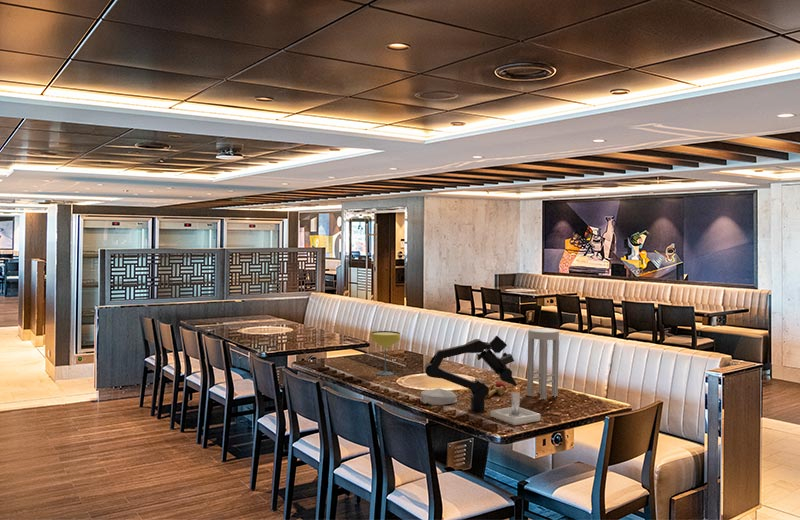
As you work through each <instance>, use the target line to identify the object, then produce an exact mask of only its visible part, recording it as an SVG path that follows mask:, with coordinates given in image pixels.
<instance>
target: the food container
mask: <svg viewBox="0 0 800 520" xmlns="http://www.w3.org/2000/svg"><path fill="white" fill-rule="evenodd" d="M457 398H458V396H457V394H456V393H455V392H453V391H450V390H447V389H443V388H441V387H439V388H433V389H425V390H422V391H420V399H419V401H420V402H422V403H423V404H429V405H432V406H433V405H434V406H443V405H450V404H451V405H452V404H455V403H458V399H457Z"/></svg>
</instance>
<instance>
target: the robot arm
mask: <svg viewBox="0 0 800 520" xmlns="http://www.w3.org/2000/svg"><path fill="white" fill-rule="evenodd" d="M506 347H508V344H506V341H504V340H502V339H501V337H500V336H499V335H495V336H494V337H493V339H492V340H490V342H485V341H482V340H481V339H479V338H475V339H473V340H472V339H471V341H468V342H466V343H465V344H464V343H463V344H460V345H456V346H453V347H448V348H444V349H438V350H437V351H435V354H434V355H433V356H432V358H431V359H430V361H429V362H427V363H426V364H425V366H424V367H423V368H424V369H423V370H424V371H425V372H424V373H425V374H426V376H427V377H429V378H433V379H443V380H445V381H448V382H451V383H453V384H454V385H458V386H461V387H464V388H466V389H468V390H470V392H469V393H470V396H471V397H470V408H468V411H469V412H472V413H475V414H480V413H486V412H487V410H486V409H485V398H486V397H485V396H486V395H488V393H489V391H490V387H488V385H487V384H486V382H485V381H484V380H480V379H478V378H476V377H475V378H474V380H470V379H468V378H465V377H462V376H460V375H458V374H454V373H452V372H450V371H448V370H445V369H443V368H441V367H440V365H441V363H442V361H443V360H444V359H446V358H451V357H455V356H458V355H464V354H476V359H477V360H478V361H480V360H481V359H482V360H483V362H484V363H486V364H487V365H488V367H490V369H492V371H493V372H494V373H495V374H496V375H497V376H498V378H499V379H500V380H501V382H505V383H508V384H510V385H512V386H513V387H517V385H518V383H517V382H516V381H515V379H514V378H513V371H512V370H511V369H510V368H509V367H508V366H507V365H508V364H510V363H513V362H515V360H514V359H515V358H514V356H513V354H511V353H508V352H504V353H502V356H501V357H499V356H497V355H496V354H500V353H501V352H502V351H503V350H504V349H505V348H506Z"/></svg>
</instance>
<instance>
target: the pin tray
mask: <svg viewBox="0 0 800 520" xmlns="http://www.w3.org/2000/svg"><path fill="white" fill-rule="evenodd" d="M510 413H511V407H509V406H508V407H505V408H498V409H492V410H491V409H490V418H492V417H494V418H493V419H495V418H496V420H498V419H499V420H498V421H501V422H503V421H504V423H506V424H509V425H511V424H512V426H518V425H519V426H520V425H523V424H524V425H525V424H529V423H534V422H540V421H541V417H542V416H541V415H542V414H541V413H538V412H536V411H532V410H529V409H527V408H524V407H520V406H519V414H521V415H522V417H517V418H513V417H510V416H509V414H510Z"/></svg>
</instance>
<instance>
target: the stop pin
mask: <svg viewBox="0 0 800 520" xmlns="http://www.w3.org/2000/svg"><path fill="white" fill-rule="evenodd" d="M520 391H521V388H520V387H519V386H511V413H510V414H509V416H510V417H513V418H517V417H522V415H521V414H519V407H520V399H521V398H520V395H521V394H520V393H521V392H520Z"/></svg>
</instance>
